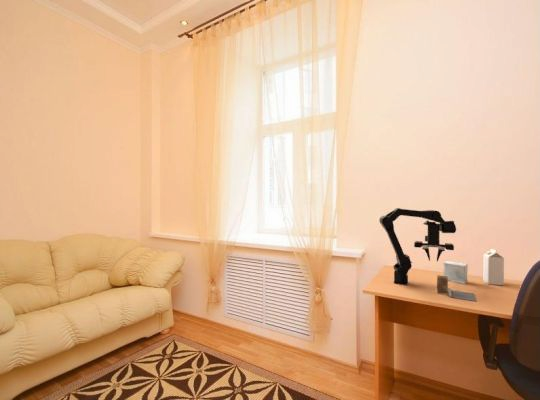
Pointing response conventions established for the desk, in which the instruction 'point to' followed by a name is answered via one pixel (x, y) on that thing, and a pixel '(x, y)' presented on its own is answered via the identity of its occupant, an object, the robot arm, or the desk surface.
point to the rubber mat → (464, 295)
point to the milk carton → (493, 268)
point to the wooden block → (442, 285)
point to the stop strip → (449, 292)
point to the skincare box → (456, 272)
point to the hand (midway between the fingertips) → (433, 260)
